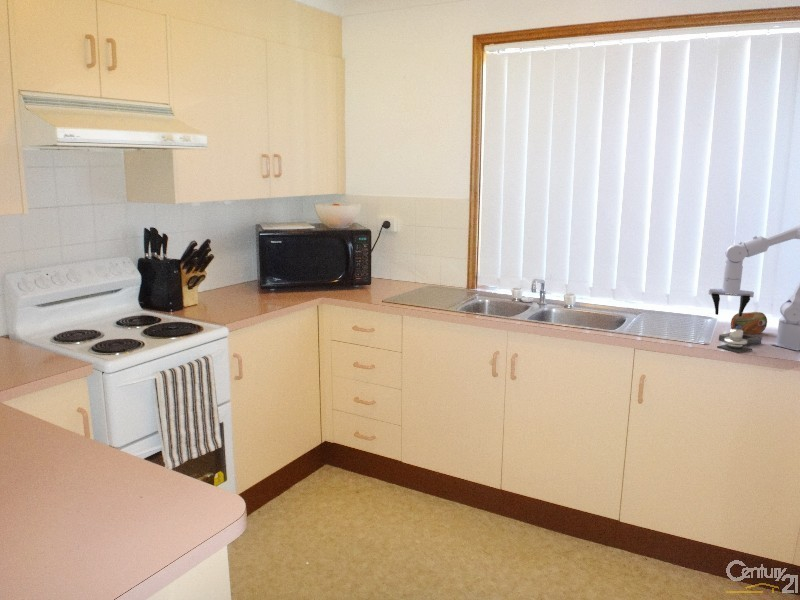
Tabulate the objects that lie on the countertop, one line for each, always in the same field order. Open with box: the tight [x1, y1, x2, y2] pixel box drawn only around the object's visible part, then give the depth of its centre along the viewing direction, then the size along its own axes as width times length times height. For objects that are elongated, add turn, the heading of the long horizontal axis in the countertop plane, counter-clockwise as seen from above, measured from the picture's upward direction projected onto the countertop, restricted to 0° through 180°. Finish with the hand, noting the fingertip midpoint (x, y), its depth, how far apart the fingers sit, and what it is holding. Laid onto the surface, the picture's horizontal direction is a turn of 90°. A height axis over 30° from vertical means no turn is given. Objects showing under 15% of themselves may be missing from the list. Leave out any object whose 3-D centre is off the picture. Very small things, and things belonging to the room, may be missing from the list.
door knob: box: [723, 328, 747, 349], centre depth 227 cm, size 7×7×6 cm
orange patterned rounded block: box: [730, 311, 768, 335], centre depth 248 cm, size 15×3×8 cm, turn 105°
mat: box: [716, 343, 753, 354], centre depth 227 cm, size 8×8×1 cm
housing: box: [718, 332, 763, 347], centre depth 237 cm, size 10×10×2 cm
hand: (728, 315), depth 237 cm, fingers open, 7 cm apart
